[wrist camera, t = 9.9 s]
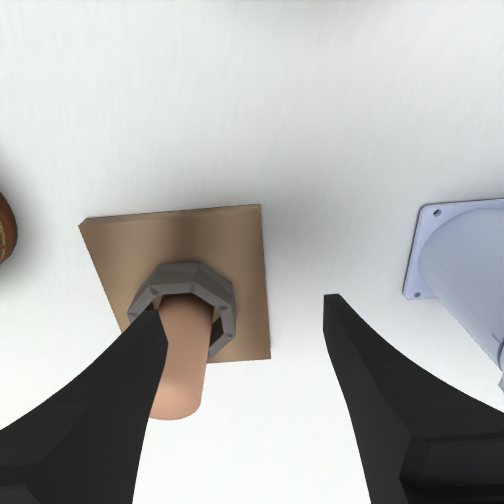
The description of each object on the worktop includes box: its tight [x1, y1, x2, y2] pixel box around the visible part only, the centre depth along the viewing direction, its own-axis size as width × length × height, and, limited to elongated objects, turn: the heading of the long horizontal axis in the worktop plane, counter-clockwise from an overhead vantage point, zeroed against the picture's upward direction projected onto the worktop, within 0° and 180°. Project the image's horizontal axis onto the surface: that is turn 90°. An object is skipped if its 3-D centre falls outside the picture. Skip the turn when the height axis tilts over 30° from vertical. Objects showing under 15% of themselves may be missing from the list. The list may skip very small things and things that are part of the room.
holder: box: [78, 204, 271, 364], centre depth 23 cm, size 12×14×4 cm
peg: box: [149, 292, 215, 420], centre depth 20 cm, size 4×4×8 cm
